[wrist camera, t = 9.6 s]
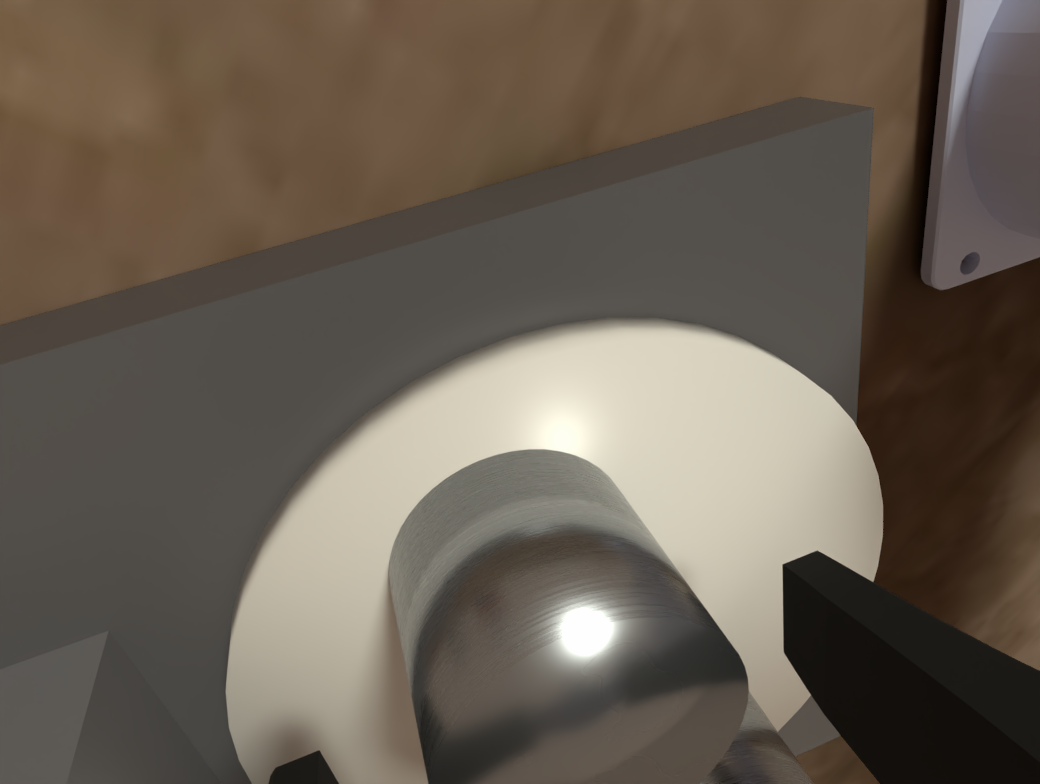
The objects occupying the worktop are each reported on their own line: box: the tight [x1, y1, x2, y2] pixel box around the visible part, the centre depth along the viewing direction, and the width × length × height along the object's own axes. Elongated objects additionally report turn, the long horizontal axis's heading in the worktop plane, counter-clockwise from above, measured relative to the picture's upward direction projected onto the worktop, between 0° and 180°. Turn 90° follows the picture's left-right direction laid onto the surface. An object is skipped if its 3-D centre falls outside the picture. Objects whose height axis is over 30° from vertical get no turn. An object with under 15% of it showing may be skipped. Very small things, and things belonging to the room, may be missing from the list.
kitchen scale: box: [0, 97, 883, 784], centre depth 14 cm, size 20×18×6 cm
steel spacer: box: [388, 449, 749, 784], centre depth 11 cm, size 4×4×4 cm
